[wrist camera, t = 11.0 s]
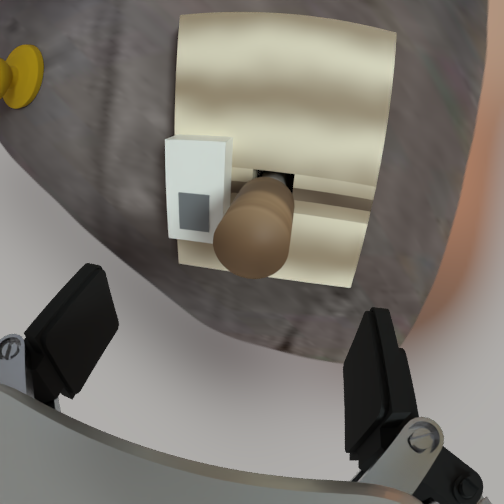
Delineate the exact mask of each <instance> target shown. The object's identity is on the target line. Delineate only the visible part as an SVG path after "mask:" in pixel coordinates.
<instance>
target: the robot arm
mask: <svg viewBox="0 0 504 504" xmlns="http://www.w3.org/2000/svg"><path fill="white" fill-rule="evenodd" d="M118 326H119V322H118V318H117V314H116V311H115V308H114V304H113V300H112V297H111V293H110V289H109V285H108V281H107V277H106V273H105V271H104V270H103V269H102V267H101V266H99V265H95V264H90V263H87V264H85V265H84V266H83V267H82V268H81V269H80V270H79V271H78V272H77V273H76V274H75V275H74V276H73V277H72V278H71V279H70V281H69V282H68V283H67V284H66V285H65V286H64V287H63V288H62V289H61V290H60V291H59V292H58V294H57V295H56V296H55V297H54V298H53V299H52V300H51V301H50V303H49V304H48V305H47V306H46V307H45V309H44V310H43V311H42V312H41V313H40V314H39V315H38V317H37V318H36V319H35V320H34V321H33V323H32V324H31V325H30V326H29V327H28V329H27V330H26V331H25V332H24V334H25V336H26V338H25V339H24V340H23V338H22V337H21V336H20V335H17V334H9V335H7V336H4V337H3V338H2V339H0V504H491V502H490V501H489V499H488V498H487V497H485V498H483V497H482V492H483V482H482V479H481V477H480V476H479V474H478V473H477V472H475V471H474V470H473V469H472V468H470V467H469V466H468V465H466V464H465V463H464V462H462V461H461V460H460V459H459V458H457V457H456V456H455V455H454V454H452V453H451V452H450V451H448V450H447V449H446V448H445V447H444V446H443V444H444V435H443V431H442V429H441V428H440V426H439V425H438V424H437V423H436V422H435V421H434V420H432V419H430V418H425V417H419V415H418V410H417V404H416V399H415V393H414V388H413V384H412V379H411V374H410V370H409V365H408V361H407V357H406V353H405V351H404V349H403V348H398V344H397V339H396V335H395V331H394V327H393V323H392V319H391V316H390V312H389V310H388V309H384V308H375V307H372V308H371V309H370V311H365V313H364V315H363V318H362V320H361V323H360V326H359V328H358V331H357V333H356V335H355V338H354V340H353V343H352V345H351V347H350V350H349V352H348V355H347V357H346V359H345V362H344V366H343V378H344V405H345V451H346V453H350V460H359V468H360V469H361V470H360V471H359V472H358V473H357V474H356V475H355V476H354V477H353V478H352V479H351V480H350V481H333V480H316V479H303V478H292V477H283V476H273V475H266V474H258V473H252V472H245V471H239V470H234V469H228V468H223V467H218V466H214V465H209V464H204V463H200V462H196V461H192V460H188V459H184V458H180V457H177V456H173V455H169V454H166V453H163V452H159V451H156V450H153V449H150V448H147V447H143V446H141V445H138V444H135V443H132V442H129V441H126V440H124V439H121V438H118V437H116V436H113V435H111V434H108V433H106V432H103V431H101V430H98V429H96V428H94V427H91V426H89V425H87V424H84V423H82V422H80V421H77V420H76V419H73V418H71V417H69V416H67V415H65V414H63V413H61V411H60V405H59V400H58V396H59V394H60V393H61V394H62V395H64V396H66V397H68V398H70V399H73V398H74V396H75V394H77V393H79V392H80V391H81V389H82V387H83V386H84V384H85V382H86V380H87V379H88V377H89V375H90V374H91V372H92V370H93V369H94V367H95V365H96V364H97V362H98V360H99V359H100V357H101V356H102V354H103V352H104V351H105V349H106V347H107V346H108V344H109V343H110V341H111V339H112V338H113V336H114V335H115V333H116V331H117V330H118Z"/></svg>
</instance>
